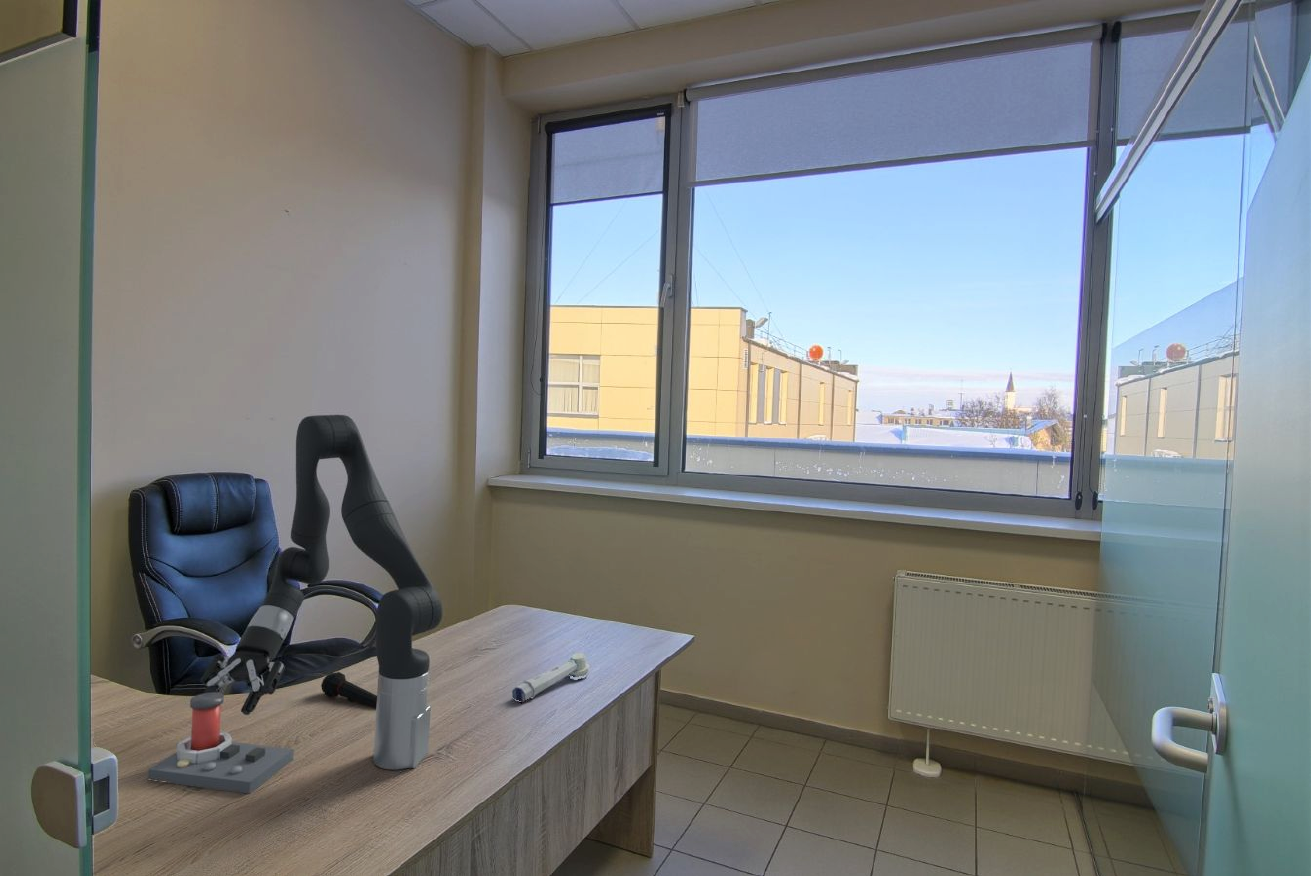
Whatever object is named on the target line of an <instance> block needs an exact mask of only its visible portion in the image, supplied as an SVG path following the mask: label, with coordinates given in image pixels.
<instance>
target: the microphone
mask: <svg viewBox="0 0 1311 876" xmlns="http://www.w3.org/2000/svg"><path fill="white" fill-rule="evenodd" d="M321 691H322V692H323V694H324V695H325V696H326V697H328V698H334V697H337V696H340V697H341V698H345V699H346V700H347V701H350V702H358V703H360V704H364V705H366V706H370V707H372V708H376V707H377V694H374V693H372V692H370V691H368V690H366V689H364V688H362V687H360V686H358V685H356V684H354V683H353V682H350V681H348V680H347V679H346V674H344V673H342V672H340V671H337V672H332V673H328V674H327V675H326V676H325V677H324V678H323V680H322V682H321Z"/></svg>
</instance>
